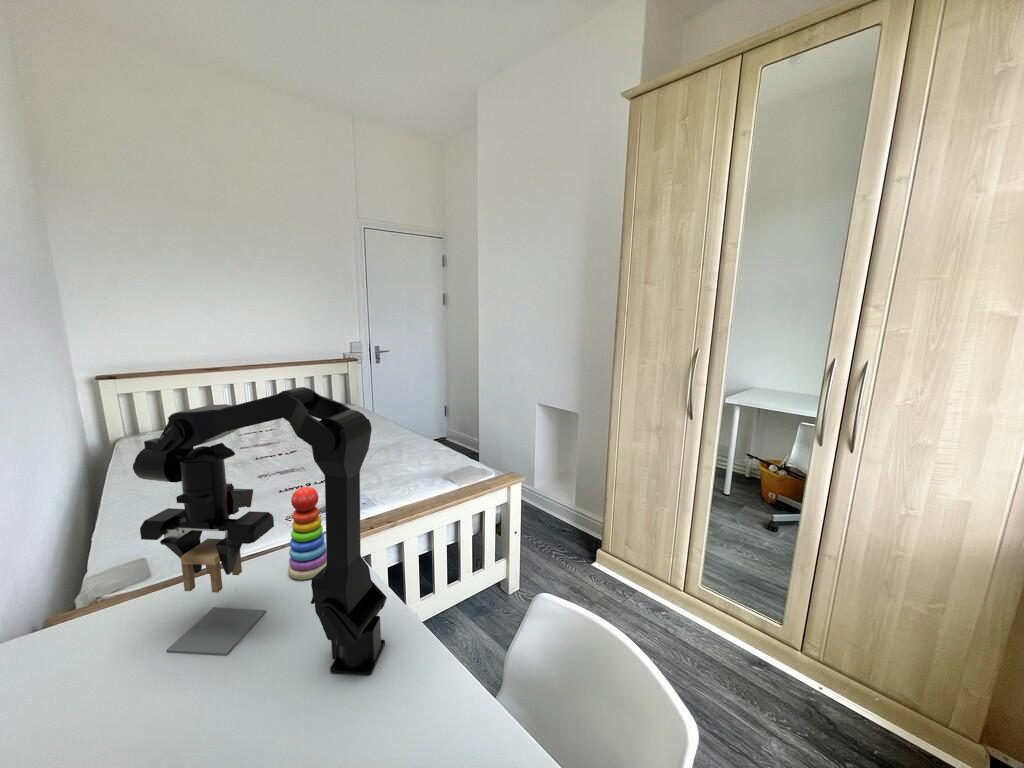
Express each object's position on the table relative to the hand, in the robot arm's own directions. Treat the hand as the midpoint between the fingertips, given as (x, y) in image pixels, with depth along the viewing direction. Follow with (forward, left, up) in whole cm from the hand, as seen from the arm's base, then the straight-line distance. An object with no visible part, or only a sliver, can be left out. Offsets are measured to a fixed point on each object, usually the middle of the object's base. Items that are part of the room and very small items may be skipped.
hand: (213, 572), depth 69 cm
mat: (0, 0, -11) cm, 11 cm away
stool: (0, 0, -2) cm, 2 cm away
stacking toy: (-6, -18, -11) cm, 22 cm away
